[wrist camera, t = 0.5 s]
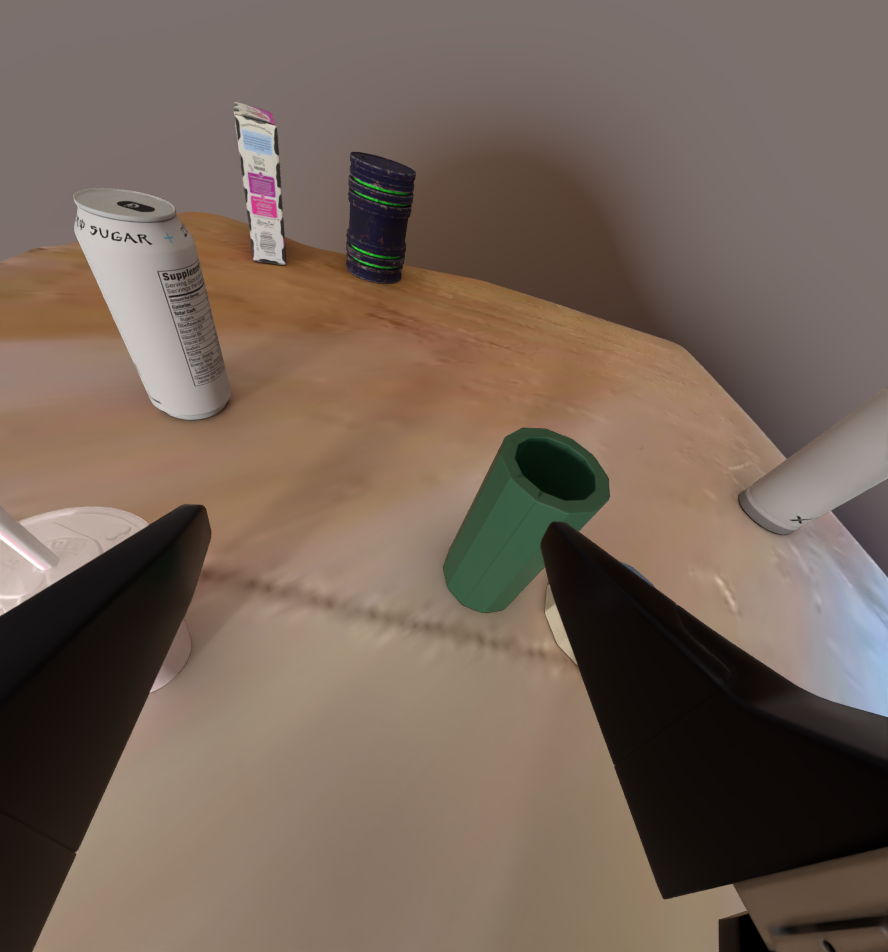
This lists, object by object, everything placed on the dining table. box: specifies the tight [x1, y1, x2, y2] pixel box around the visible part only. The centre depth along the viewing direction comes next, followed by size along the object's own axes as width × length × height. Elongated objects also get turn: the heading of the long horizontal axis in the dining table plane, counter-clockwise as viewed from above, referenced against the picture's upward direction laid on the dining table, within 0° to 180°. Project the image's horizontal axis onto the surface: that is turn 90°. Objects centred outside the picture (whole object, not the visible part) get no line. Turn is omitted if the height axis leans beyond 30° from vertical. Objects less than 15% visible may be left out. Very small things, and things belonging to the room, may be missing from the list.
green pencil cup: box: [443, 428, 610, 613], centre depth 23 cm, size 6×6×12 cm
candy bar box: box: [234, 102, 286, 265], centre depth 52 cm, size 11×5×16 cm, turn 20°
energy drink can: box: [73, 188, 231, 420], centre depth 27 cm, size 6×6×15 cm
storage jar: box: [346, 152, 416, 284], centre depth 57 cm, size 10×10×15 cm
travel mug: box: [739, 387, 888, 535], centre depth 35 cm, size 6×7×20 cm
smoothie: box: [0, 506, 191, 693], centre depth 14 cm, size 6×6×14 cm
